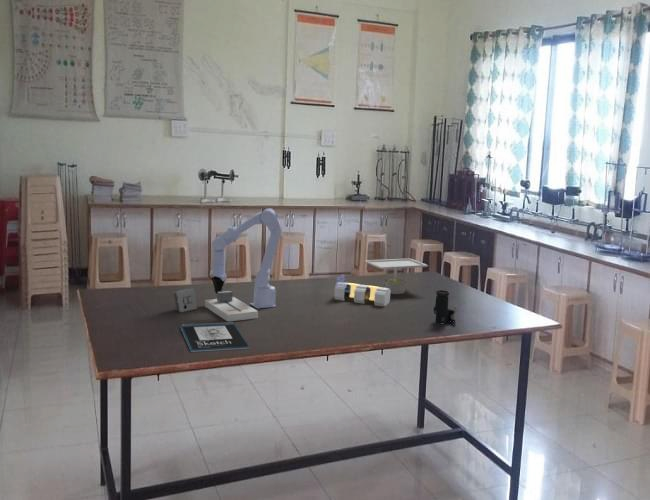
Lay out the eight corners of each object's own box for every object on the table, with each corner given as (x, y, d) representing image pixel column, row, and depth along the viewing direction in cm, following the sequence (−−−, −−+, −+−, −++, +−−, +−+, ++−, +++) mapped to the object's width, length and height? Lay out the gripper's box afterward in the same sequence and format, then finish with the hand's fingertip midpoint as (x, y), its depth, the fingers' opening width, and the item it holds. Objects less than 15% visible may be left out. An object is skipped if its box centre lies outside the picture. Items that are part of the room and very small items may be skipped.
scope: (459, 292, 293) (444, 295, 287) (456, 323, 296) (441, 326, 289) (445, 288, 299) (429, 290, 293) (442, 318, 302) (427, 321, 295)
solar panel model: (408, 285, 360) (410, 258, 358) (425, 293, 345) (428, 265, 342) (362, 288, 349) (364, 260, 346) (378, 297, 333) (380, 267, 331)
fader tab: (229, 299, 302) (229, 290, 301) (232, 301, 299) (232, 292, 299) (216, 300, 299) (217, 291, 298) (219, 302, 296) (219, 293, 295)
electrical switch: (180, 313, 289) (179, 291, 287) (173, 311, 292) (172, 290, 291) (197, 309, 296) (196, 288, 295) (190, 308, 299) (189, 287, 298)
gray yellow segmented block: (333, 300, 324) (335, 273, 321) (340, 295, 333) (342, 269, 331) (384, 307, 316) (386, 280, 313) (389, 302, 325) (391, 276, 323)
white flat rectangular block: (233, 303, 308) (234, 296, 307) (258, 318, 287) (258, 311, 286) (204, 306, 301) (205, 299, 300) (227, 321, 280) (227, 314, 279)
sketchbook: (190, 354, 242) (191, 348, 241) (180, 328, 269) (180, 323, 269) (250, 350, 249) (250, 344, 248) (233, 325, 276) (233, 320, 276)
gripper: (204, 261, 306) (203, 290, 309) (216, 267, 294) (216, 297, 297) (218, 260, 310) (218, 288, 313) (231, 266, 298) (230, 296, 301)
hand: (218, 293), depth 305 cm, fingers closed
